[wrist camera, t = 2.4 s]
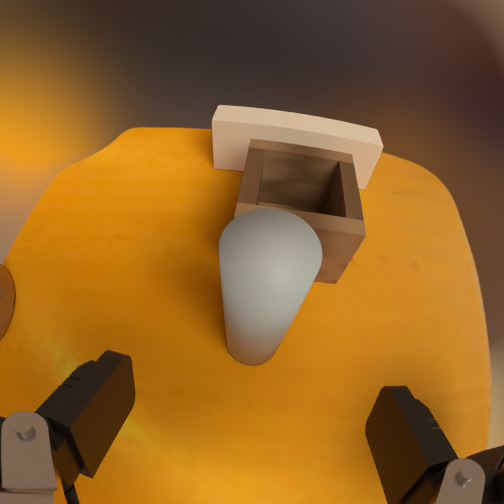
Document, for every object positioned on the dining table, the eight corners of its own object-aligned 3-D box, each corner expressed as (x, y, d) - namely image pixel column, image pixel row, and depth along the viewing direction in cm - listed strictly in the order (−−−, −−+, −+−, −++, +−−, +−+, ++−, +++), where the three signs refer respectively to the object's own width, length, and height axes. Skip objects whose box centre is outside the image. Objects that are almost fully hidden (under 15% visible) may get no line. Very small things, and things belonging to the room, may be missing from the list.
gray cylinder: (223, 362, 19) (209, 287, 9) (230, 314, 21) (228, 202, 11) (275, 368, 19) (322, 301, 9) (279, 320, 21) (321, 214, 11)
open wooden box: (233, 270, 23) (234, 217, 18) (247, 195, 28) (250, 138, 22) (335, 283, 23) (365, 235, 17) (332, 206, 27) (351, 154, 22)
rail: (213, 168, 30) (211, 120, 24) (219, 151, 31) (218, 104, 26) (364, 189, 29) (383, 146, 24) (360, 171, 31) (377, 129, 26)
